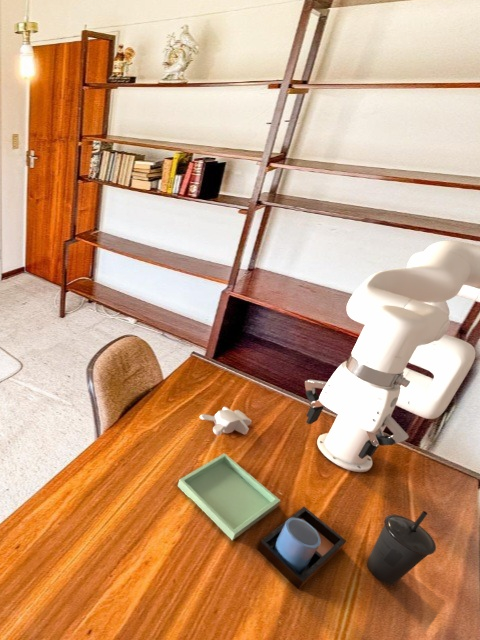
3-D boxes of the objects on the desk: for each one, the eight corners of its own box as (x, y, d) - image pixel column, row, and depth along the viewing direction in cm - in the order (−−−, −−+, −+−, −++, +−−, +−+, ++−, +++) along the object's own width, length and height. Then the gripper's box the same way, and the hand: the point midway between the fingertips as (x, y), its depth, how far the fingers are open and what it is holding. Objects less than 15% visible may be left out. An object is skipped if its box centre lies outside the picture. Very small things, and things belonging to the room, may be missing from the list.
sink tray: (221, 459, 109) (224, 452, 108) (277, 507, 97) (280, 500, 95) (177, 486, 101) (179, 479, 100) (231, 541, 89) (234, 534, 88)
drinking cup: (412, 597, 80) (464, 537, 71) (370, 588, 81) (416, 527, 72) (389, 558, 87) (433, 498, 78) (350, 550, 88) (390, 490, 79)
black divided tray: (299, 515, 95) (304, 506, 94) (340, 549, 88) (346, 540, 87) (255, 550, 87) (260, 541, 86) (297, 591, 80) (303, 582, 79)
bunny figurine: (261, 423, 116) (222, 430, 111) (255, 436, 118) (216, 443, 113) (237, 401, 124) (199, 406, 119) (231, 414, 126) (194, 419, 121)
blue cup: (282, 538, 89) (296, 512, 85) (311, 564, 85) (327, 538, 81) (266, 551, 87) (279, 525, 83) (295, 579, 82) (310, 553, 78)
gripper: (440, 392, 68) (396, 463, 75) (331, 341, 82) (302, 405, 89) (422, 405, 65) (377, 478, 72) (312, 349, 78) (283, 415, 85)
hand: (336, 437), depth 80 cm, fingers open, 9 cm apart
